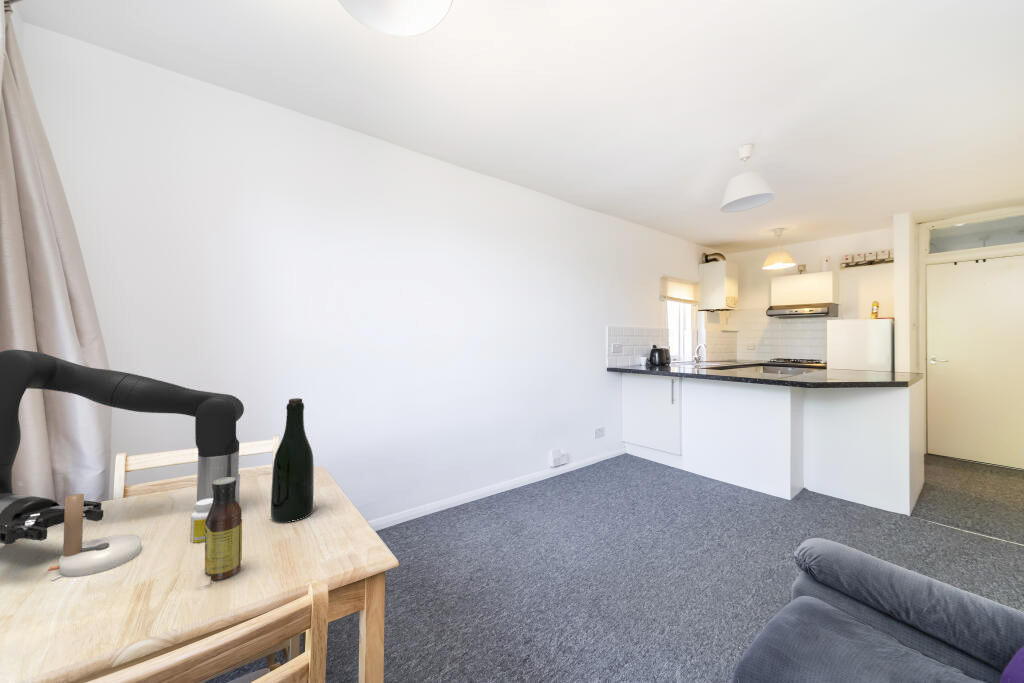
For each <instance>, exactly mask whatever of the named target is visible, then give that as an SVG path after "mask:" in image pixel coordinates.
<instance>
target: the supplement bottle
mask: <svg viewBox="0 0 1024 683" xmlns="http://www.w3.org/2000/svg"><path fill="white" fill-rule="evenodd" d="M212 504H213V498H209V499H204V500H200V501H198V502H197V501H196V502H195V504H194V509H195V511H194V512H192V514H191V516H190V533H189V542H190V543H191V544H201V543H205V521H206V518H207V516H208V513H209V511H210V508H211V506H212Z"/></svg>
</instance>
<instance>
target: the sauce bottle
mask: <svg viewBox="0 0 1024 683" xmlns="http://www.w3.org/2000/svg"><path fill="white" fill-rule="evenodd" d="M235 486H236V478H234V477H226V478H221V479H218V480H215V481H214V482H213V484H212V489H213V504H212V506H211V508H210V511H209V513H208V516H207V518H206V521H205V542H204V571H205V575H207V576H209V577H210V580H212V581H216V580H217V581H218V580H224V579H226V578H230V577H232V575H234V574H236V573H237V572H239V571H240V569H241V564H242V560H243V519H242V517H243V516H242V511H243V509H242V507H241V505H240V502H239V503H238V502H237V501H236V500H235V497H236V496H235Z"/></svg>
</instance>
